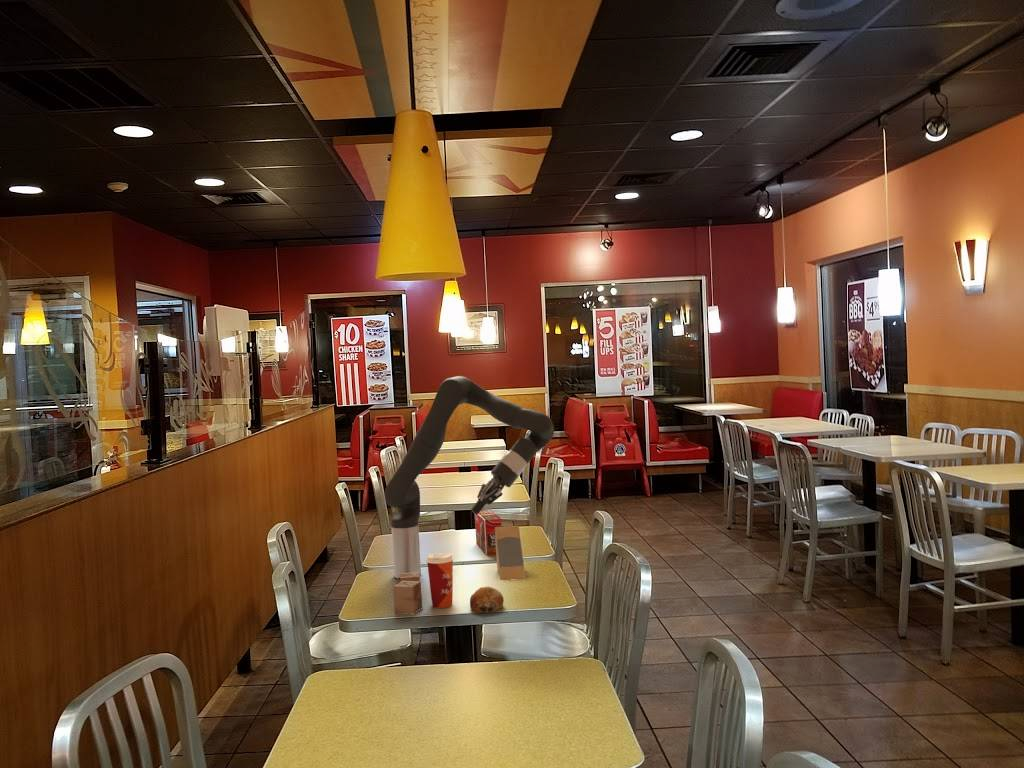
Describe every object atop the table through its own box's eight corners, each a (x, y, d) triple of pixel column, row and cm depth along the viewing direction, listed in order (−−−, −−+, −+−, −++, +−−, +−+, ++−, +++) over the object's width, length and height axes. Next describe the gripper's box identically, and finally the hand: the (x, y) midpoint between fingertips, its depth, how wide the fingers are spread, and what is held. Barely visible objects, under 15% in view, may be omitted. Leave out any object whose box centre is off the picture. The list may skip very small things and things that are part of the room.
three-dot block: (403, 607, 246) (402, 580, 245) (422, 608, 244) (420, 580, 243) (394, 613, 240) (393, 585, 240) (413, 614, 238) (412, 586, 238)
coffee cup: (451, 609, 240) (449, 558, 240) (424, 609, 242) (422, 558, 242) (459, 601, 249) (456, 551, 248) (433, 600, 250) (430, 551, 250)
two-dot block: (401, 598, 255) (399, 572, 254) (420, 597, 255) (419, 571, 255) (401, 604, 249) (399, 577, 248) (420, 602, 249) (419, 576, 249)
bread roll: (507, 618, 241) (511, 591, 244) (492, 613, 233) (496, 584, 236) (477, 615, 245) (481, 588, 248) (461, 610, 237) (466, 582, 240)
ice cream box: (476, 544, 325) (474, 511, 325) (492, 542, 327) (490, 509, 326) (486, 555, 306) (484, 520, 306) (502, 553, 307) (501, 518, 307)
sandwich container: (500, 581, 269) (498, 536, 269) (496, 569, 284) (494, 526, 284) (526, 579, 270) (524, 534, 269) (521, 568, 285) (519, 525, 285)
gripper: (493, 458, 258) (458, 501, 254) (509, 462, 246) (472, 508, 242) (509, 473, 260) (475, 516, 256) (526, 478, 248) (490, 523, 244)
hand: (473, 512), depth 249 cm, fingers closed
